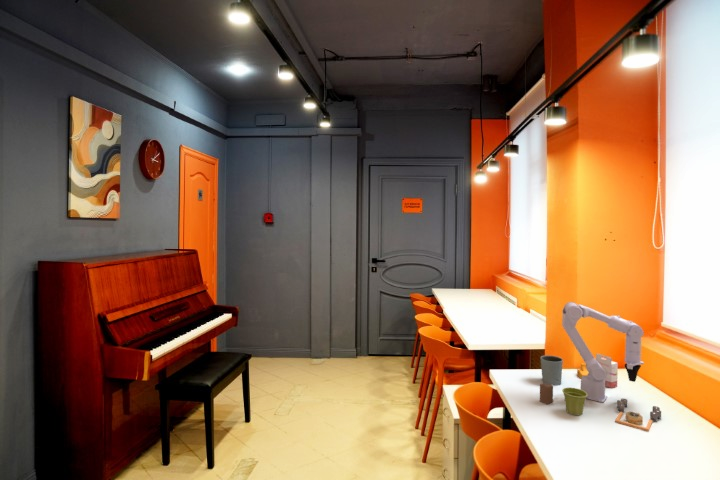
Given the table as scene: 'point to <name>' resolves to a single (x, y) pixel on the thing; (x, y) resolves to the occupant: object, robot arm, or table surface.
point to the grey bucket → (551, 369)
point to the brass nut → (634, 418)
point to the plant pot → (574, 400)
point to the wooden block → (546, 393)
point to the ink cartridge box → (608, 370)
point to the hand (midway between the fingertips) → (632, 380)
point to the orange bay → (633, 424)
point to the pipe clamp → (582, 370)
